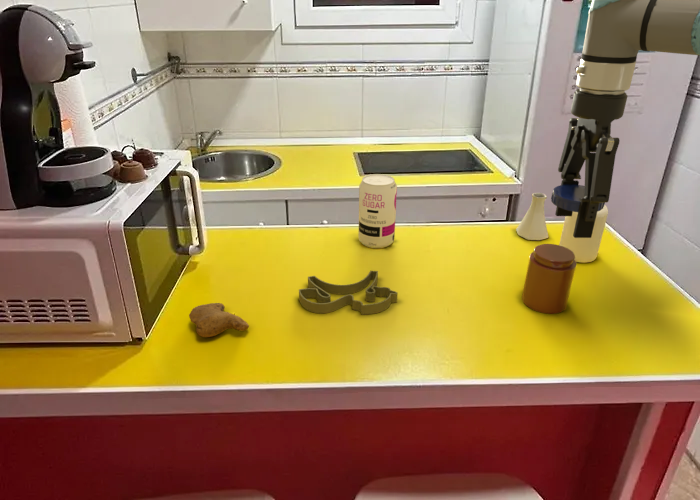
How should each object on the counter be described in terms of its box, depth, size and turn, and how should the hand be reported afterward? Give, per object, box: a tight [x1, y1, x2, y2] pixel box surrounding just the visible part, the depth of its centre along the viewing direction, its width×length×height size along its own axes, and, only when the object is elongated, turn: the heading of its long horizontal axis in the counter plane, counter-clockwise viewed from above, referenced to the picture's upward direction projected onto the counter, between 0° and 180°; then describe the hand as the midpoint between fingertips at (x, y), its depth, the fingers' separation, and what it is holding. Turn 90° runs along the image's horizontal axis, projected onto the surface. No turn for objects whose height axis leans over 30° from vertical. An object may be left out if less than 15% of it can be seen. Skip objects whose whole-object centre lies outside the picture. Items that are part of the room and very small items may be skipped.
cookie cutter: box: [298, 270, 398, 316], centre depth 98 cm, size 18×12×2 cm, turn 100°
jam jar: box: [521, 243, 577, 315], centre depth 95 cm, size 8×8×10 cm
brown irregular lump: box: [188, 302, 250, 338], centre depth 90 cm, size 10×10×4 cm
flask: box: [515, 192, 549, 241], centre depth 121 cm, size 7×7×10 cm
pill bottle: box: [558, 204, 609, 264], centre depth 111 cm, size 8×8×15 cm
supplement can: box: [357, 173, 398, 249], centre depth 116 cm, size 8×8×15 cm
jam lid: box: [550, 184, 606, 212], centre depth 87 cm, size 8×8×2 cm
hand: (572, 225), depth 90 cm, fingers closed on jam lid, 8 cm apart
